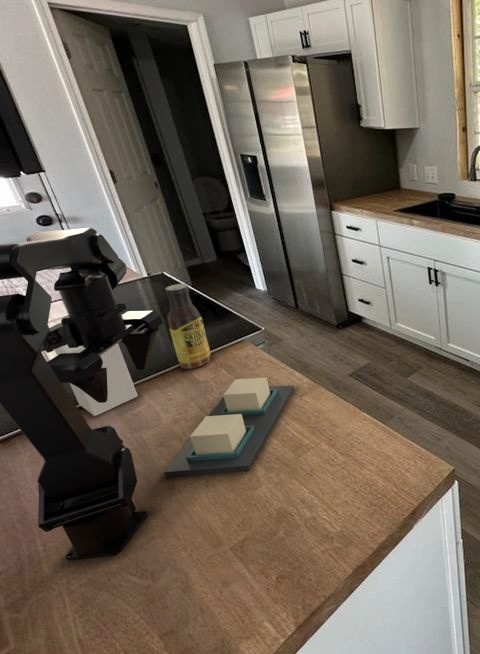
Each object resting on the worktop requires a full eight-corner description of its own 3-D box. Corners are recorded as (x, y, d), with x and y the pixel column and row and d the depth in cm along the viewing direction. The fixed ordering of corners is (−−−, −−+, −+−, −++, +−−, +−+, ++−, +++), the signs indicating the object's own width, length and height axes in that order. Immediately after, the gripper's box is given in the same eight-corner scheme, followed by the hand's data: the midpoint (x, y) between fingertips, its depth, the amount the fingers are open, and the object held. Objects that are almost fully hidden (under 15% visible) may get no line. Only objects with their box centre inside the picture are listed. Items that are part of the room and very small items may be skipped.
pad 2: (260, 411, 82) (256, 392, 81) (228, 413, 81) (223, 394, 80) (270, 395, 87) (266, 377, 85) (240, 397, 86) (235, 379, 84)
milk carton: (79, 405, 84) (42, 323, 77) (122, 386, 90) (92, 309, 83) (94, 417, 81) (58, 333, 74) (138, 396, 87) (108, 317, 80)
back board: (249, 470, 70) (246, 461, 70) (165, 477, 69) (162, 468, 68) (294, 389, 91) (292, 382, 90) (230, 393, 89) (228, 385, 88)
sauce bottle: (195, 372, 95) (172, 294, 88) (173, 368, 97) (148, 291, 89) (219, 357, 101) (199, 283, 94) (198, 353, 103) (176, 280, 95)
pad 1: (233, 453, 72) (227, 433, 70) (196, 456, 71) (189, 436, 70) (246, 432, 77) (241, 413, 75) (211, 435, 76) (205, 416, 74)
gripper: (83, 283, 74) (112, 357, 80) (-28, 337, 57) (19, 426, 62) (152, 282, 75) (175, 354, 81) (63, 333, 58) (101, 420, 64)
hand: (123, 384), depth 72 cm, fingers open, 9 cm apart
